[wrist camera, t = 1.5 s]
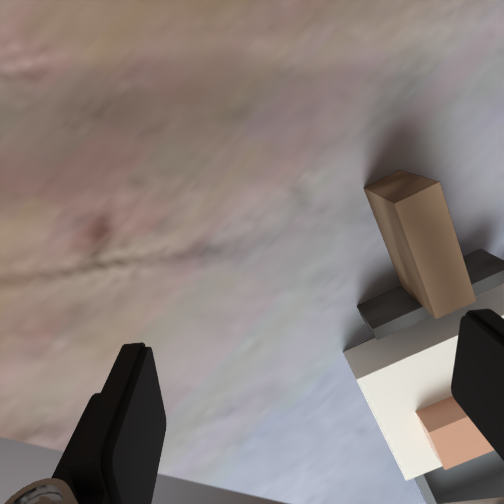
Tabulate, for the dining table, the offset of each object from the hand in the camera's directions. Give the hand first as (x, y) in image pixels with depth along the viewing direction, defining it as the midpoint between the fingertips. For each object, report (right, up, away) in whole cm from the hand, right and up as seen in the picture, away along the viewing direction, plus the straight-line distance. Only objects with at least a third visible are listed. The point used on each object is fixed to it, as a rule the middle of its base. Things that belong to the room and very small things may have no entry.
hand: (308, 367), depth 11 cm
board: (+17, -8, +26) cm, 32 cm away
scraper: (+11, +5, +21) cm, 24 cm away
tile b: (+17, -12, +23) cm, 31 cm away
